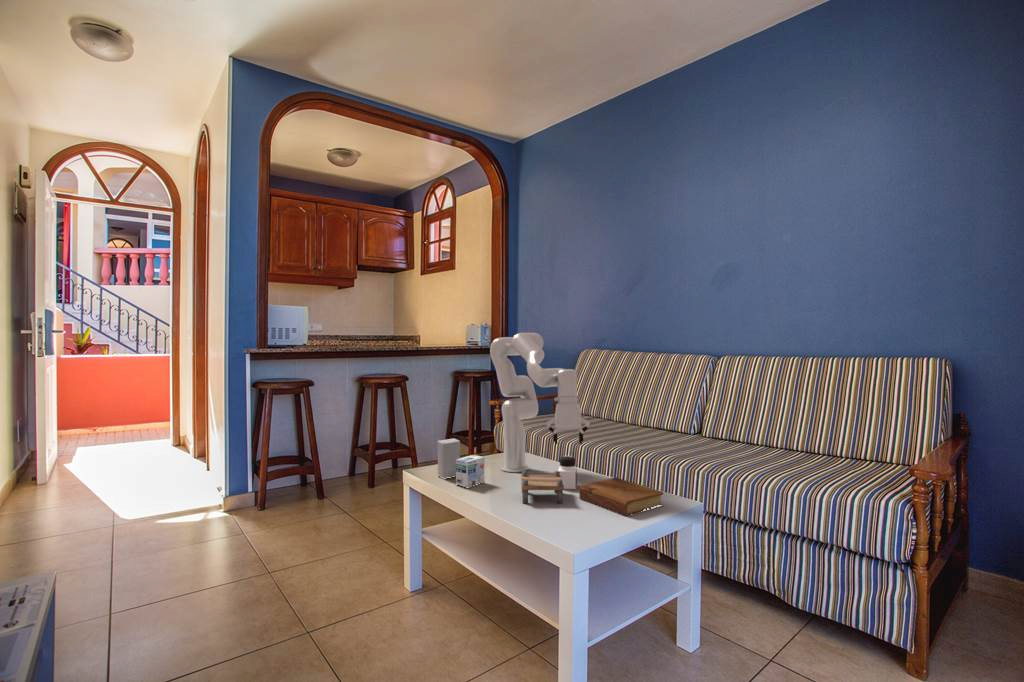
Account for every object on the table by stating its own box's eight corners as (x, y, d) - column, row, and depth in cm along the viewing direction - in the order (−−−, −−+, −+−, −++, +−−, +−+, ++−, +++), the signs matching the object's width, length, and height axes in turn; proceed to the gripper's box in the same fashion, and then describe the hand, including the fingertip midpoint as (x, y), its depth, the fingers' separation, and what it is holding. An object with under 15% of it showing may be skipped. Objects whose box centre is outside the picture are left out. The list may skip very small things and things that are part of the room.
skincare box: (454, 473, 230) (454, 437, 230) (461, 477, 224) (461, 440, 224) (436, 476, 226) (436, 439, 225) (443, 480, 220) (443, 442, 219)
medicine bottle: (576, 489, 205) (575, 459, 205) (557, 489, 207) (557, 458, 207) (577, 484, 212) (576, 455, 212) (559, 484, 214) (559, 454, 214)
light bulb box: (467, 488, 207) (467, 461, 207) (455, 486, 212) (455, 459, 211) (485, 482, 216) (485, 456, 216) (472, 480, 220) (472, 454, 220)
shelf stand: (521, 491, 203) (521, 471, 203) (560, 491, 203) (560, 470, 203) (521, 504, 188) (521, 481, 188) (563, 504, 188) (563, 481, 188)
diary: (579, 501, 194) (579, 485, 194) (615, 492, 204) (615, 477, 204) (625, 518, 175) (625, 501, 175) (663, 507, 185) (663, 491, 185)
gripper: (546, 401, 205) (547, 445, 205) (590, 401, 205) (591, 444, 205) (545, 399, 213) (545, 442, 213) (588, 399, 213) (588, 441, 213)
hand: (568, 443), depth 209 cm, fingers open, 9 cm apart
